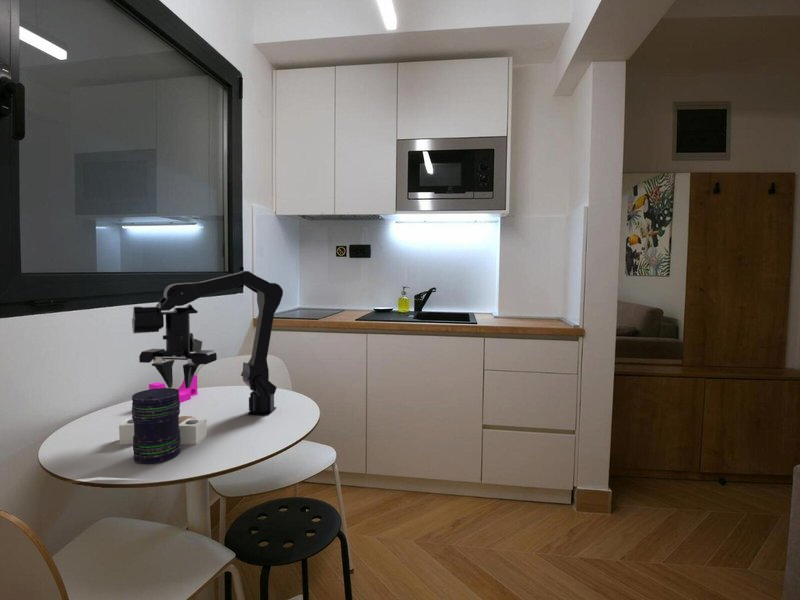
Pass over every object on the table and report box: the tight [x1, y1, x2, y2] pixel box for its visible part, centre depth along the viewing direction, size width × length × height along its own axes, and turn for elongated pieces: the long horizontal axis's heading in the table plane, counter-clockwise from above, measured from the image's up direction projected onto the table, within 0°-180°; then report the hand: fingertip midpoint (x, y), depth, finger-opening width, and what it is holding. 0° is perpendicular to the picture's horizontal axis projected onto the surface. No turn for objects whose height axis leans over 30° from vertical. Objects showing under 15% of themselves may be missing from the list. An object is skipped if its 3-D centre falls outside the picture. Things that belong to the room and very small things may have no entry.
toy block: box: [148, 374, 199, 404], centre depth 142 cm, size 15×6×8 cm, turn 155°
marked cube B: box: [118, 417, 134, 446], centre depth 109 cm, size 5×5×5 cm
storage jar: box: [131, 387, 181, 466], centre depth 100 cm, size 10×10×15 cm
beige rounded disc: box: [179, 415, 197, 424], centre depth 116 cm, size 8×8×3 cm
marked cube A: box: [179, 418, 208, 445], centre depth 109 cm, size 5×5×5 cm
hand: (179, 387), depth 115 cm, fingers open, 5 cm apart
